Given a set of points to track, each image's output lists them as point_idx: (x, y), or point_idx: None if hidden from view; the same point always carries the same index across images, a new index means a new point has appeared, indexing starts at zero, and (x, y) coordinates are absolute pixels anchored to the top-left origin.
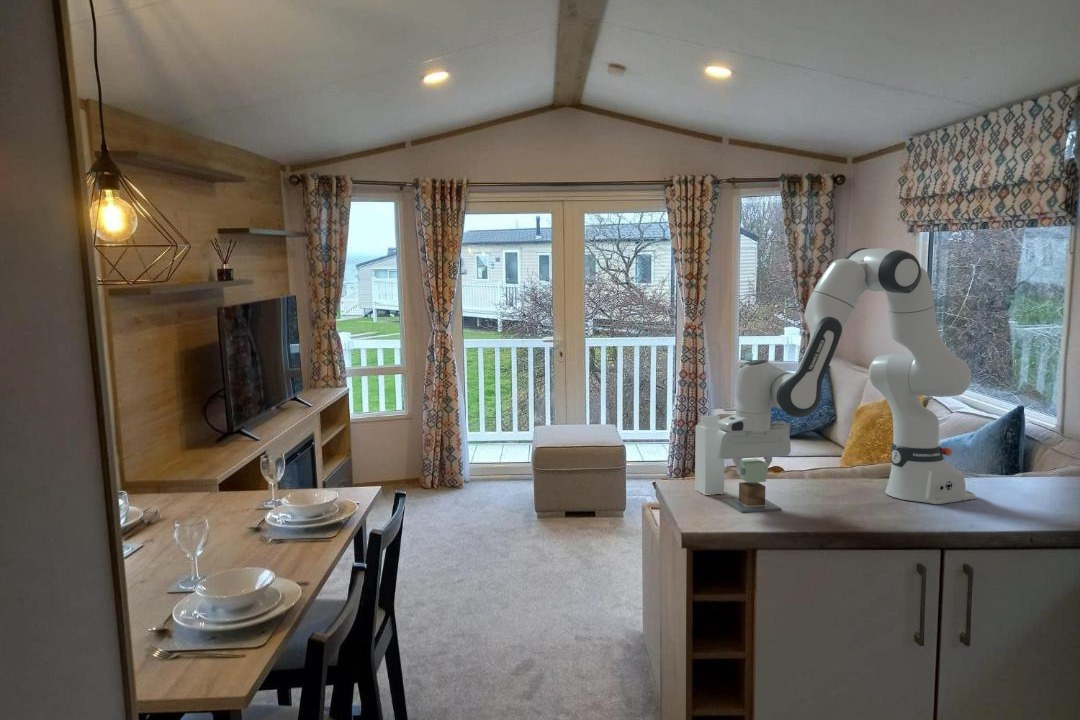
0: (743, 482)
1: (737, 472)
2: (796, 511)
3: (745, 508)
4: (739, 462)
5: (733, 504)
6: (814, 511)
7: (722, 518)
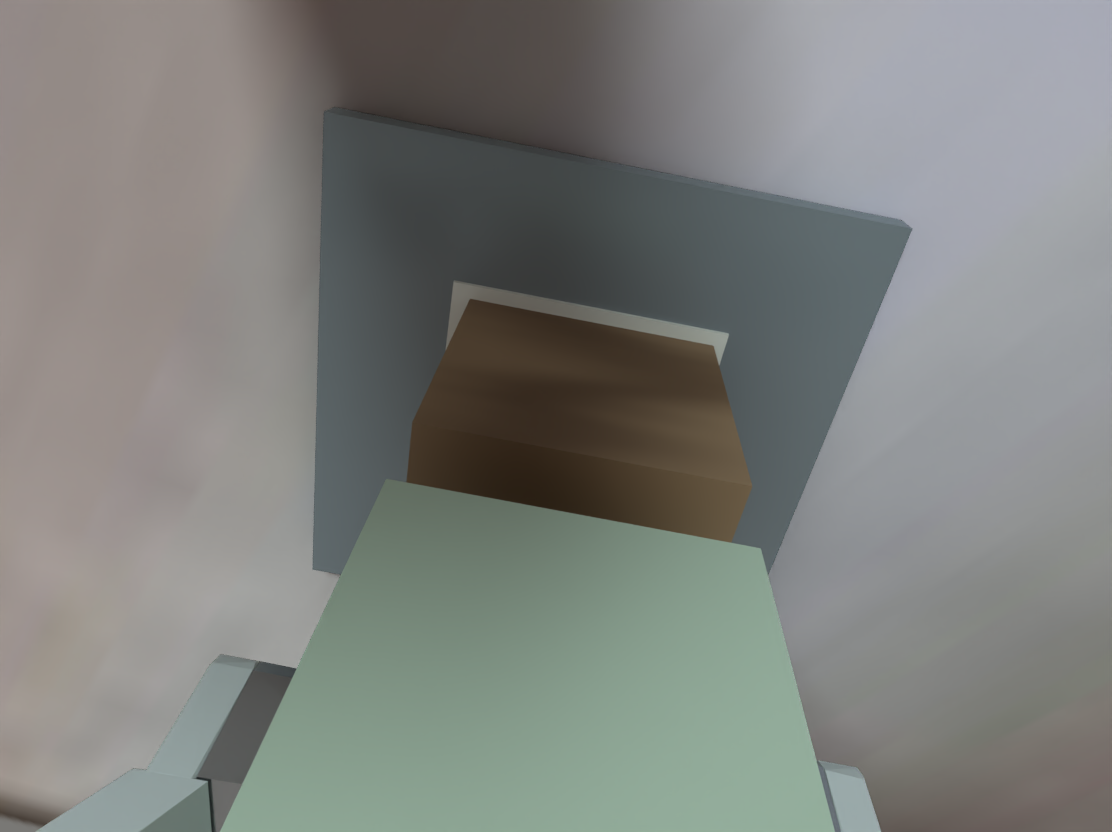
0: (492, 446)
1: (210, 684)
2: (833, 693)
3: None
4: (248, 774)
5: (334, 381)
6: (975, 743)
7: (79, 604)
